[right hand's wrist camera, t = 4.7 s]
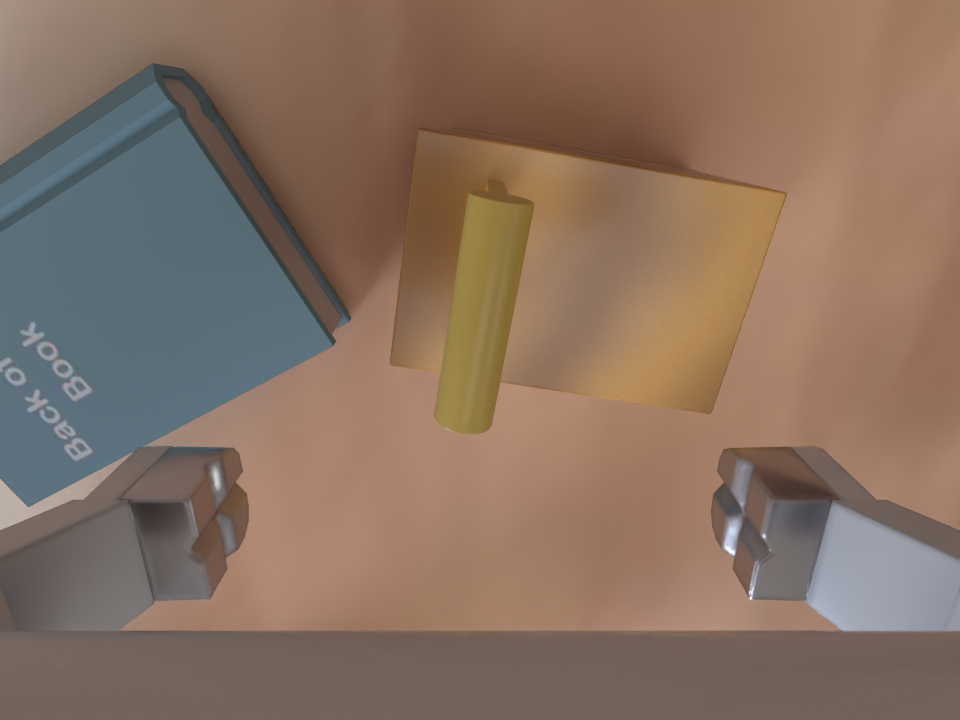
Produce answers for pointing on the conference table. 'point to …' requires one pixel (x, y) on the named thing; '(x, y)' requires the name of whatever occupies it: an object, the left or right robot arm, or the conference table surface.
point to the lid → (572, 276)
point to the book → (140, 282)
